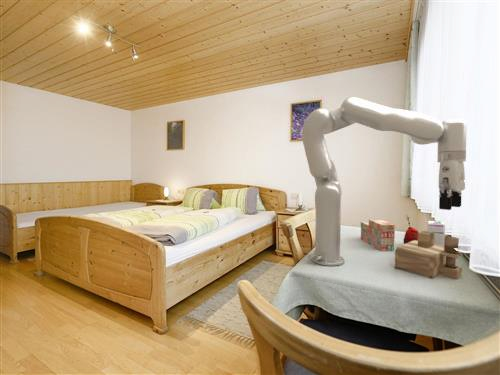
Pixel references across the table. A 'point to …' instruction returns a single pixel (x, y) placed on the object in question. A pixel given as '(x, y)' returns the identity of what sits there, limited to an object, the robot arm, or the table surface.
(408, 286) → the table surface
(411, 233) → the red clay folk toy
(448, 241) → the wooden bottle
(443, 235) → the syrup box
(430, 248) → the lid
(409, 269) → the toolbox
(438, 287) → the table surface
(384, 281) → the table surface
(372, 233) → the stack of blocks
